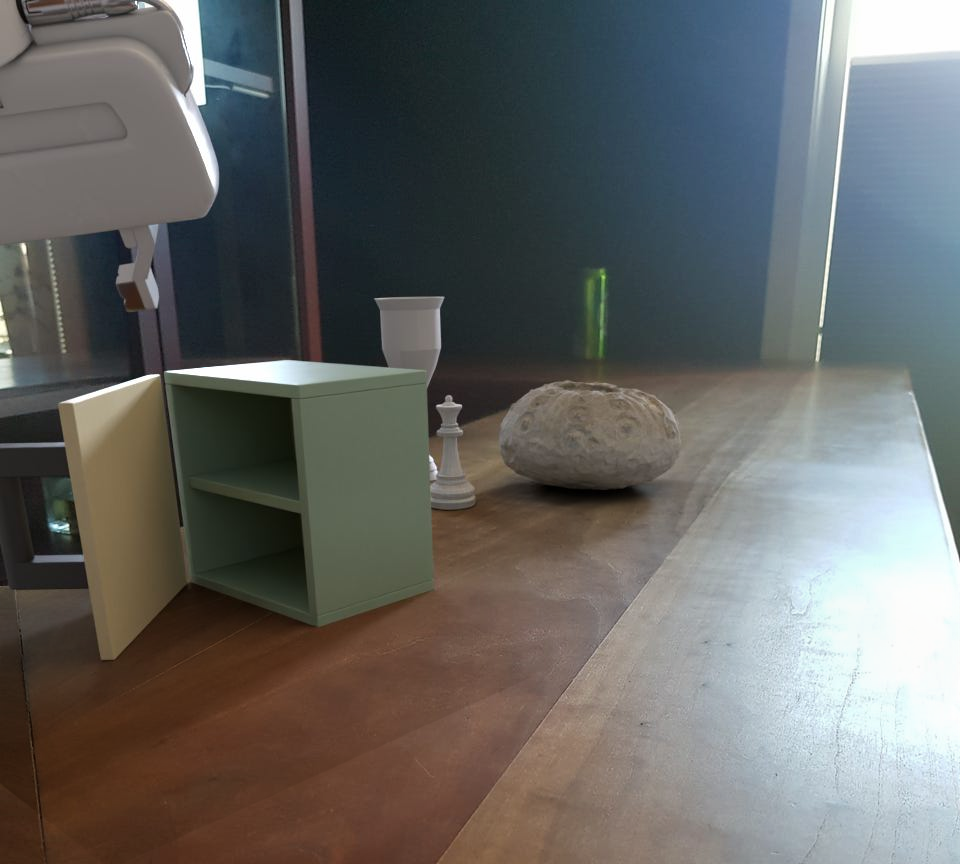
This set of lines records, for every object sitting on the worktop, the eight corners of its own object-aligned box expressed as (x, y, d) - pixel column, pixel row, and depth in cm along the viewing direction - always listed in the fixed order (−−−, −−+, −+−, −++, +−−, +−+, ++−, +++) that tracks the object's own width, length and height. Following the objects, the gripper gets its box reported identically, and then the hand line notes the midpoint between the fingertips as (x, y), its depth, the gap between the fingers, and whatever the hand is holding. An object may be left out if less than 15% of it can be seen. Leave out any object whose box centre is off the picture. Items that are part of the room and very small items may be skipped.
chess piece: (419, 507, 90) (415, 397, 87) (441, 498, 94) (438, 391, 91) (462, 511, 89) (459, 399, 85) (483, 501, 92) (481, 393, 89)
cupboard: (318, 628, 60) (298, 384, 55) (190, 583, 70) (163, 371, 64) (434, 590, 67) (426, 370, 62) (303, 553, 76) (287, 359, 71)
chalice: (414, 468, 109) (406, 296, 102) (463, 474, 105) (458, 296, 98) (370, 480, 103) (359, 299, 97) (420, 486, 99) (412, 299, 93)
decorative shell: (678, 470, 105) (683, 374, 101) (680, 508, 88) (686, 395, 85) (512, 468, 108) (512, 374, 104) (485, 504, 91) (483, 394, 88)
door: (7, 662, 55) (-46, 405, 50) (101, 584, 69) (67, 376, 64) (114, 660, 55) (72, 402, 50) (187, 583, 69) (160, 374, 64)
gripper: (173, -52, 41) (257, 257, 52) (-320, 12, 40) (-133, 310, 51) (162, 1, 37) (254, 324, 48) (-387, 73, 36) (-168, 382, 47)
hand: (51, 317), depth 49 cm, fingers open, 8 cm apart
